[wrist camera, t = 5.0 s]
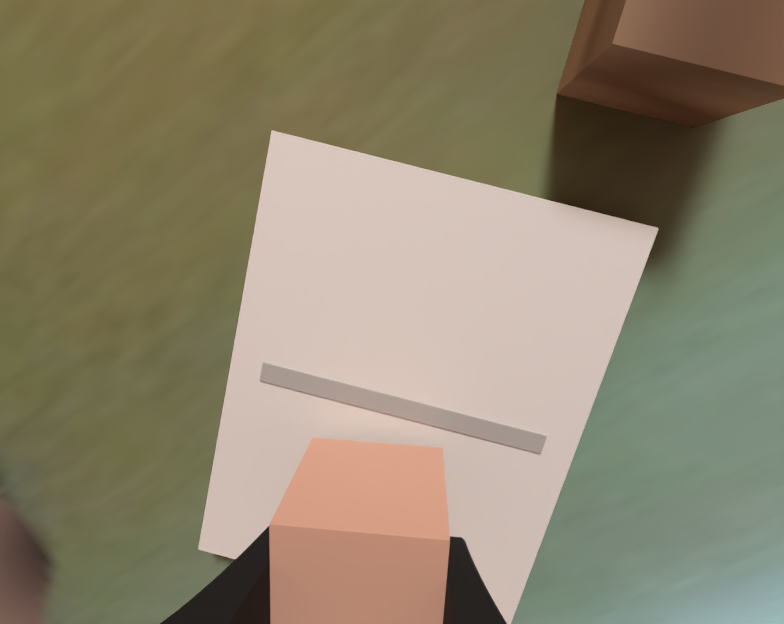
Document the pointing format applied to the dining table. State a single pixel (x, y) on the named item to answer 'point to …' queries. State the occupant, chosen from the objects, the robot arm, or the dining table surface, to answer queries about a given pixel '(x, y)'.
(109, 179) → the dining table surface
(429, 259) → the baseplate
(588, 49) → the walnut block
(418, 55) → the dining table surface
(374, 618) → the terracotta block
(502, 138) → the dining table surface
